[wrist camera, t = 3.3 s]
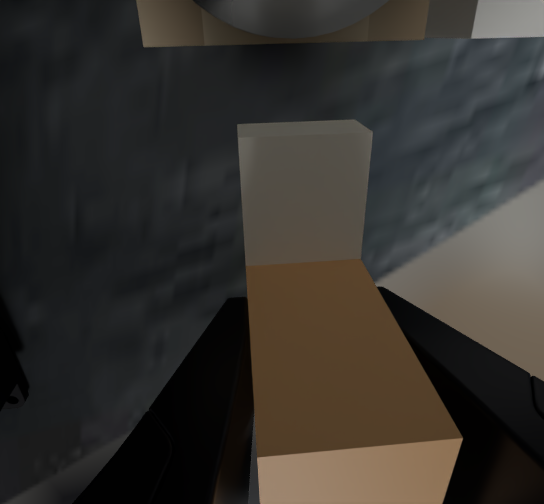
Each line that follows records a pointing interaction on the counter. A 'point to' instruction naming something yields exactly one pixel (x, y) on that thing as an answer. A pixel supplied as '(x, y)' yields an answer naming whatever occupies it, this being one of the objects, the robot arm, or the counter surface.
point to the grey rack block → (485, 19)
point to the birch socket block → (211, 31)
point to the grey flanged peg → (290, 15)
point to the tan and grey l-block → (329, 332)
